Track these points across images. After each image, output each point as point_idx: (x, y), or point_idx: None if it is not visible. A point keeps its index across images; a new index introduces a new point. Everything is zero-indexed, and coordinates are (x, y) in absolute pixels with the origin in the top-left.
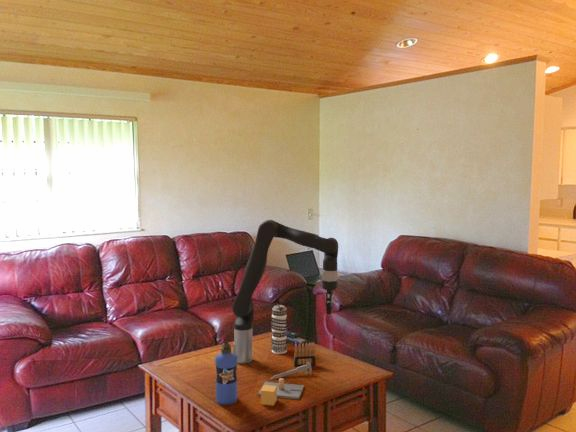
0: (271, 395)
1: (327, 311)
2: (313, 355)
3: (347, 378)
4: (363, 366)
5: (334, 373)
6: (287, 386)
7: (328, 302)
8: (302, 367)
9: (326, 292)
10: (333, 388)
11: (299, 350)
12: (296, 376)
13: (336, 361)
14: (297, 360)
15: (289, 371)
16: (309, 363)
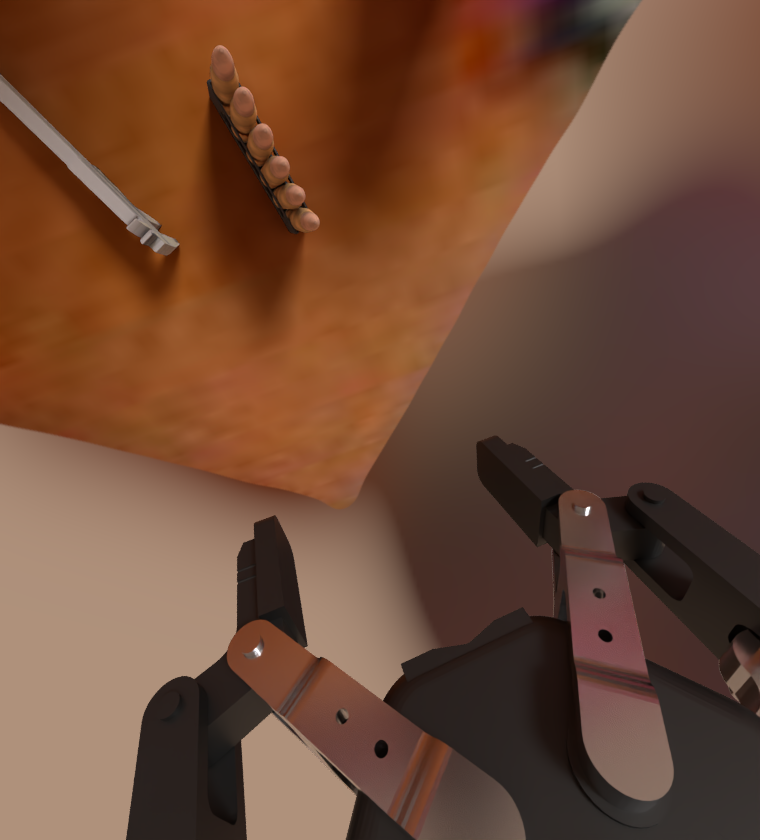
0: None
1: (239, 570)
2: (291, 224)
3: (225, 422)
4: (371, 429)
5: (246, 357)
6: None
7: (535, 498)
8: (105, 201)
9: (608, 790)
10: (78, 413)
11: (233, 110)
12: None
13: (384, 316)
14: (220, 110)
15: (8, 106)
16: (162, 240)
